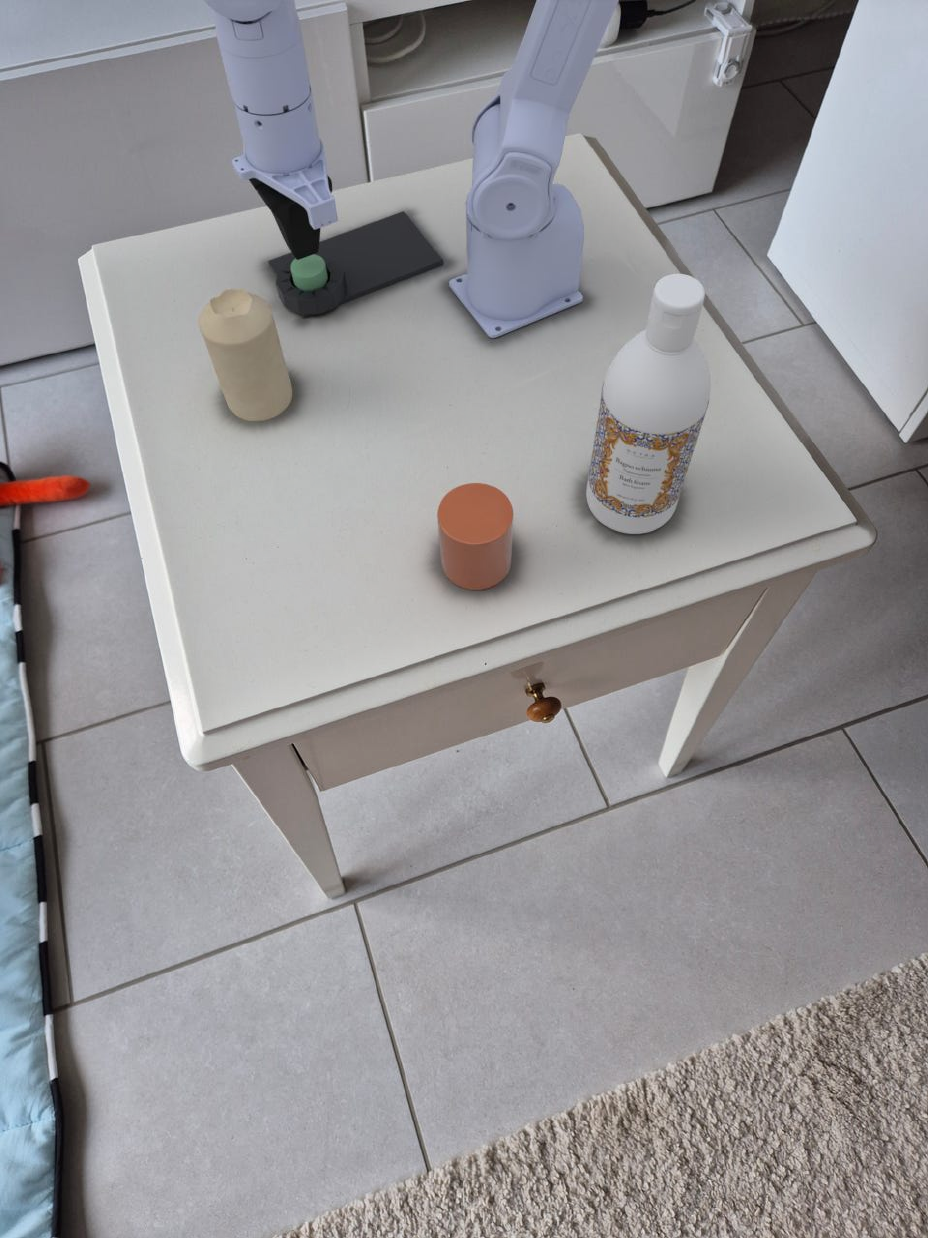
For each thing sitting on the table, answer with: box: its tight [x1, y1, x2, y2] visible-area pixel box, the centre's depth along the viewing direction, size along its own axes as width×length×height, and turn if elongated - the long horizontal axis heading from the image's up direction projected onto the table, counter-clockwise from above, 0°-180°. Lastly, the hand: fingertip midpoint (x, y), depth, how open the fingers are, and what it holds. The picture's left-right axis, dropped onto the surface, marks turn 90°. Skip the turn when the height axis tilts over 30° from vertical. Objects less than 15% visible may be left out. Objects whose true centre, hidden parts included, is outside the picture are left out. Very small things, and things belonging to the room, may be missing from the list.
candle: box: [198, 288, 293, 422], centre depth 71 cm, size 6×6×10 cm
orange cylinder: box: [437, 482, 514, 591], centre depth 64 cm, size 5×5×6 cm
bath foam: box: [585, 273, 712, 535], centre depth 60 cm, size 7×7×20 cm
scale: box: [267, 210, 444, 319], centre depth 81 cm, size 15×9×2 cm, turn 119°
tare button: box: [291, 254, 328, 291], centre depth 78 cm, size 3×3×2 cm
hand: (304, 251), depth 77 cm, fingers closed
